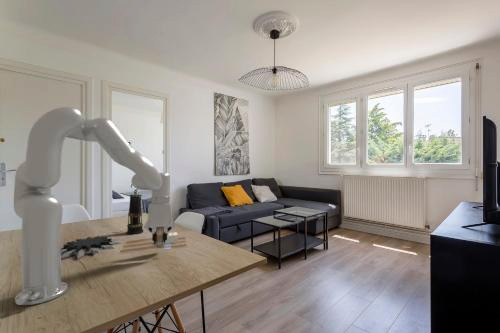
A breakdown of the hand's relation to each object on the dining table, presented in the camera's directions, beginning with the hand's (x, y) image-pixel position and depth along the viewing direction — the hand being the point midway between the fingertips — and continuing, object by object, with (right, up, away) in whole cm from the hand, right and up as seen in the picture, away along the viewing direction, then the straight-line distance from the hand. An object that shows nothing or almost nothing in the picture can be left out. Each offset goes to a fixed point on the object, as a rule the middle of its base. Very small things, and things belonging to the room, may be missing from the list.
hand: (159, 241), depth 111 cm
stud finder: (-1, -5, +15) cm, 16 cm away
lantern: (-28, -6, +38) cm, 48 cm away
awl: (0, -2, 0) cm, 2 cm away
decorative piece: (-37, -7, +9) cm, 39 cm away
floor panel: (-7, -6, +13) cm, 16 cm away
